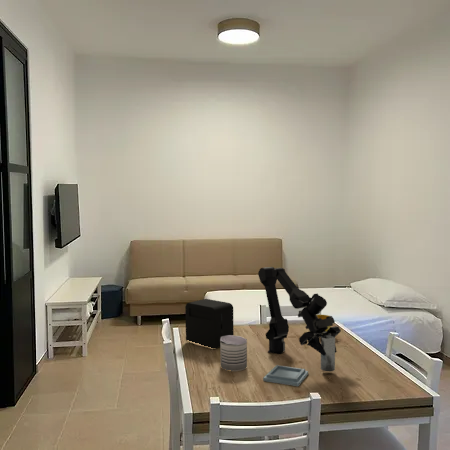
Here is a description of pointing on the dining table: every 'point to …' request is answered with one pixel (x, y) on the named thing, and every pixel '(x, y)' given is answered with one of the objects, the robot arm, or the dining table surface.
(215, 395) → the dining table surface
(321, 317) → the plant pot
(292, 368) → the plate
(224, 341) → the can
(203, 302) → the air purifier
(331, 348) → the grey shiny round cylinder
